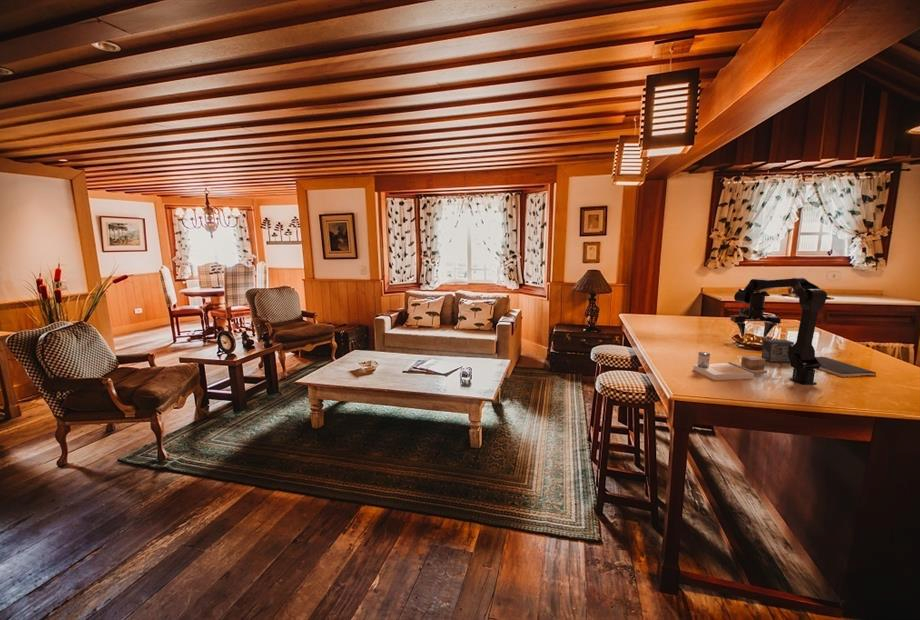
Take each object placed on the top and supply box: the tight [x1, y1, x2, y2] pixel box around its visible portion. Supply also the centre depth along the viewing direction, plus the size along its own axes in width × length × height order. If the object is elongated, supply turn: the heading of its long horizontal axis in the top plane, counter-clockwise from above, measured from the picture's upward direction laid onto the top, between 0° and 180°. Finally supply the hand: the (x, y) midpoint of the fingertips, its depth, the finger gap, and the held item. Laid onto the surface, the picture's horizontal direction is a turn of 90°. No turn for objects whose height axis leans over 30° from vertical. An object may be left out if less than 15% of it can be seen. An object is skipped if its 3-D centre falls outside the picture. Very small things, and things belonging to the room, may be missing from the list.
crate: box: [740, 355, 768, 374], centre depth 179 cm, size 6×9×6 cm, turn 94°
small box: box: [761, 339, 795, 364], centre depth 191 cm, size 11×6×10 cm, turn 84°
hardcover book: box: [803, 356, 876, 378], centre depth 180 cm, size 16×23×2 cm
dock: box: [692, 361, 755, 381], centre depth 175 cm, size 14×18×3 cm
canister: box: [696, 351, 711, 368], centre depth 177 cm, size 5×5×6 cm
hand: (753, 336), depth 186 cm, fingers open, 9 cm apart
